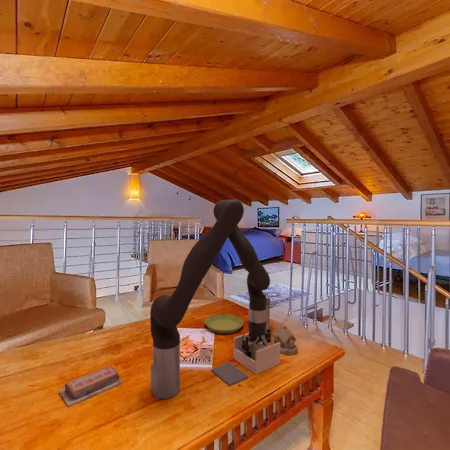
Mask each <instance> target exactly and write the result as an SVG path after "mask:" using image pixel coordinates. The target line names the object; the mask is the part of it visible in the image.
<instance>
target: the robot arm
mask: <svg viewBox="0 0 450 450" xmlns="http://www.w3.org/2000/svg"><path fill="white" fill-rule="evenodd" d="M244 212H245V209H244V206H243V203H242V202H241V201H240V200H238V199H233V198H232V199H224V200H219V201H217V202H216V203H215V205H214V207H213V217H214V218H215V223H214V224H213V226H212V227H211V228H210V229H209V230H208V232H207V233H205V234H204V235H203V236H202V237H200V239H198V241H197V242H195V244H194V245H193V246H192V247H191V249H190V250H189V253H188V254H187V256H186V258H185V260H184V261H183V264H182V269H181V272H180V273H181V274H180V277H179V280H178V283H177V285H176V288H175V289H174V291H173V292H172V294H171V295H167V294H162V295H159V296H158V297H156V298H155V299H154V300H153V301H152V303H151V306H150V312H149V313H150V314H149V316H150V334H151V337H152V338H151V339H152V363H151V364H150V392H151V393H152V394H153V396H154V397H155V398H156V400H163V399H165V400H166V399H171V398H173V397H175V396H177V395H178V394H179V393H180V389H181V387H180V386H181V379H180V377H181V334H180V332H179V330H178V328H177V326H178V325H179V324H180V323H181V322H182V320H183V319H184V317H185V315H186V313H187V310H188V309H189V306H190V304H191V302H192V299H193V298H194V296H195V293H196V292H197V291H198V288H199V287H200V285H201V283H202V281H203V280H204V278H205V276H206V275H207V274H208V273H209V270H210V269H211V267H212V266H213V264H214V262H215V261H216V259H217V256H218V255H219V254H220V252H221V250H222V248H223V246H224V245H225V243H226V242H227V240H229V242H230V243H231V245H232V247H233V248H234V250H235V253H236V255H237V257H238V258H239V261H240V263H241V265H242V267H243V269H244V270H246V272H248V274H247V277H246V285H247V291H248V296H249V297H248V298H249V303H248V305H249V306H248V307H249V308H248V317H247V318H248V319H247V320H248V321H247V325H248V326H247V329H248V331H249V332H248V333H249V334H248V335H247V336H245V335H244V334H242V335H243V338H242V349H243V350H244V351H246V356H248V357H249V358H251V350H252V348H253V347H254V346H255V344H257V343H259V342H261V343H263V345H265V346H266V347H267V346H268V345H269V343H272V334H271V333H272V331H271V329H270V328H269V329H268V328H266V320H267V312H266V298H267V296H266V294H265V293H264V292H263V291H266V290H267V289H269V287H270V285H271V278H270V275H269V274H268V273H269V272H268V271H267V270H266V269H265V266H264V265H263V264H262V263H261V261H260V260H259V257H258V254H257V253H256V250H255V248H254V246H253V244H252V243H251V241H250V240H249V239H248V238H247V237H246V235H245V234H244V233H243V231H242V230H241V229H240V227H239V226H238V225H239V223H240V222H241V220H242V219H243V217H244ZM250 342H253V343H252V344H251V343H250ZM249 346H250V347H249Z"/></svg>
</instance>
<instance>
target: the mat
mask: <svg viewBox="0 0 450 450" xmlns="http://www.w3.org/2000/svg"><path fill="white" fill-rule="evenodd" d="M210 371H211V372H212V373H213V374H214V375H215V376H217V378H219V379H220V380H221V381H223V382H224V383H225V385H227V386H228V387H231V386H233V385H236V384H238V383H240V382H242V381H244V380H246V379H247V380H248V379H249V376H248V375H247V374H246V373H245V372H243V371H242V370H240V369H239V368H238V367H237V366H235V365H234V364H233V363H231V362H230V361H228V362H226V363H224V364H221V365H219V366H216V367H214V368H210Z"/></svg>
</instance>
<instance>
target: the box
mask: <svg viewBox="0 0 450 450" xmlns="http://www.w3.org/2000/svg"><path fill="white" fill-rule="evenodd" d="M250 343H251V344H252V343H253V342H250ZM261 343H262V342H261ZM261 343H260V342H259V343H257V344H255V346H254V347H253V348H252V350H251V359H253V360H254V361H255V359H256V351H258V350H261V349H263V348H266V346H265V345H263V344H261ZM249 347H250V346H249ZM244 354H245V355H246V351H244Z"/></svg>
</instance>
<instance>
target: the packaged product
mask: <svg viewBox="0 0 450 450" xmlns="http://www.w3.org/2000/svg"><path fill="white" fill-rule="evenodd" d="M122 383H123V381H121V380H120V375H119V373H118V371H117V369H115V366H113V365H108V366H105V367H103V368H100V369H97V370H95V371H92V372H90V373H88V374H84V375H83V376H79V377H78V378H74V379H72V380H69V381H67V382H65V383H64V387H63V388H60V389H59V390H58V392H59V394H60V396H61V398H62V397H63V398H62V400H63V402H64V403H66V404H65V405H66V406H67V408H71V407H72V405H73V406H74V404H75V405H77V404H78V403H80V402H83V400H84V401H86V400H88V399H90V397H91V398H93V397H95V396H98V395H100V394H102V393H105V392H106V390H107V391H108V390H111V389H113V388H114V387H118V386H120V385H122ZM104 391H105V392H104ZM97 394H98V395H97ZM94 395H95V396H94ZM92 396H93V397H92ZM87 398H88V399H87ZM85 399H86V400H85ZM76 403H77V404H76Z"/></svg>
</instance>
